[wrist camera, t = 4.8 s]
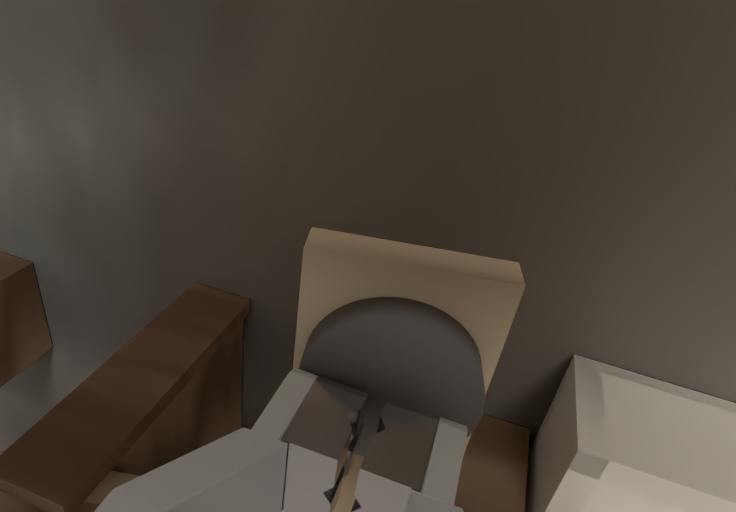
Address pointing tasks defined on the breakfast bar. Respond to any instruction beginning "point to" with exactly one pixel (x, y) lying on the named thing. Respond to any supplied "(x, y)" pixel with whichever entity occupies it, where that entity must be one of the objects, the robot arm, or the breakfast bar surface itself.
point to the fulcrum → (175, 403)
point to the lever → (390, 333)
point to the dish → (631, 446)
